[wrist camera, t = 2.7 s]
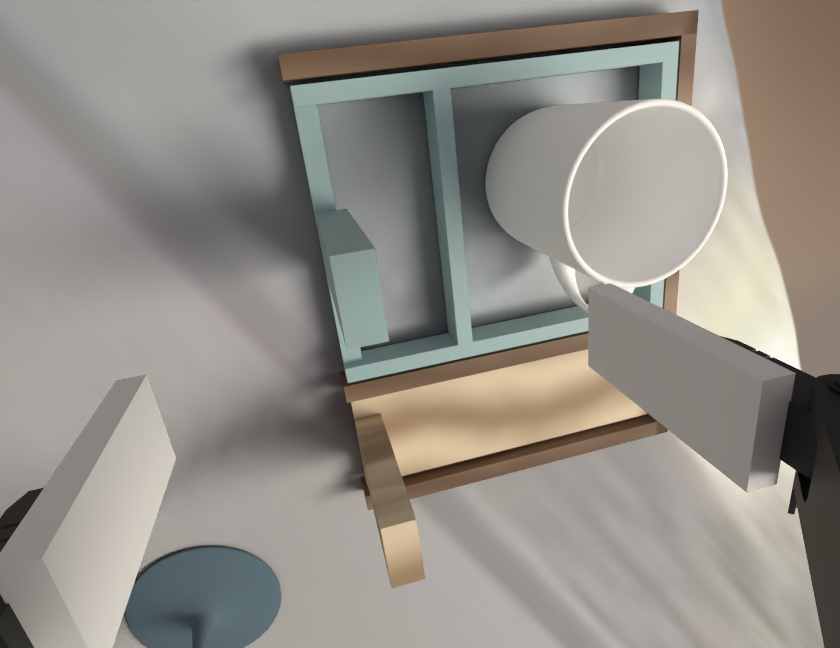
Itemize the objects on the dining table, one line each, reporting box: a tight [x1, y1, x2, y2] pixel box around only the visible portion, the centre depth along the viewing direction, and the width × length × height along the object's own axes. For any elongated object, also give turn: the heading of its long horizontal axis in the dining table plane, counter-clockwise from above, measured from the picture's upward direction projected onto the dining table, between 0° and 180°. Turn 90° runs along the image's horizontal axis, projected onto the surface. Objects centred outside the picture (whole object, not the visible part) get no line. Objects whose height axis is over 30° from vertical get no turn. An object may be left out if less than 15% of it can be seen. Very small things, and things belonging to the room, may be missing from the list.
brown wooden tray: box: [278, 10, 698, 510], centre depth 35 cm, size 29×24×2 cm
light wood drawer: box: [351, 349, 647, 588], centre depth 34 cm, size 7×22×12 cm, turn 97°
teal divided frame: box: [290, 41, 679, 383], centre depth 28 cm, size 17×22×12 cm
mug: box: [485, 98, 727, 314], centre depth 30 cm, size 9×12×11 cm
